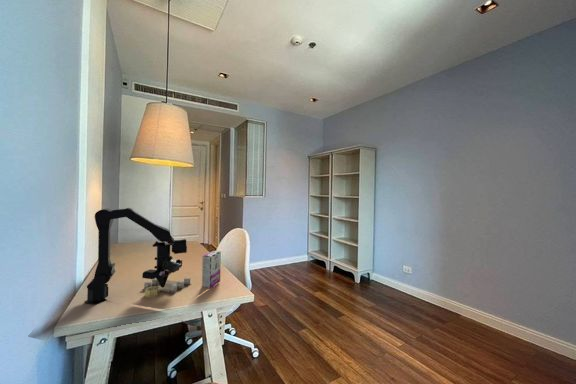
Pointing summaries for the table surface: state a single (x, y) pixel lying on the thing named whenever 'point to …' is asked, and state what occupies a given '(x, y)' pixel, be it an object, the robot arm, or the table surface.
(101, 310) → the table surface
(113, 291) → the table surface
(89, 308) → the table surface
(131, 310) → the table surface
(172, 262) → the robot arm
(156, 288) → the hexagonal box
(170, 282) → the board
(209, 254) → the candy bar box
